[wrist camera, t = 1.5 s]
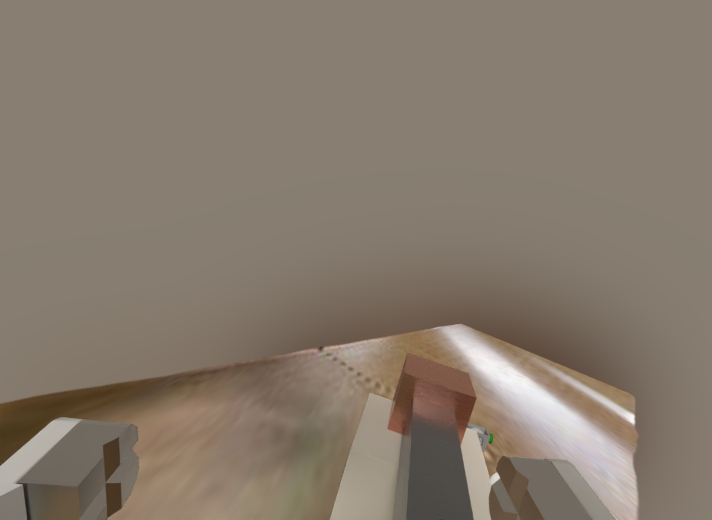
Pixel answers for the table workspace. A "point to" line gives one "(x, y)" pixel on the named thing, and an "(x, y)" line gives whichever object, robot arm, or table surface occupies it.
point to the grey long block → (431, 441)
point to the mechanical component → (482, 435)
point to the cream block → (395, 469)
